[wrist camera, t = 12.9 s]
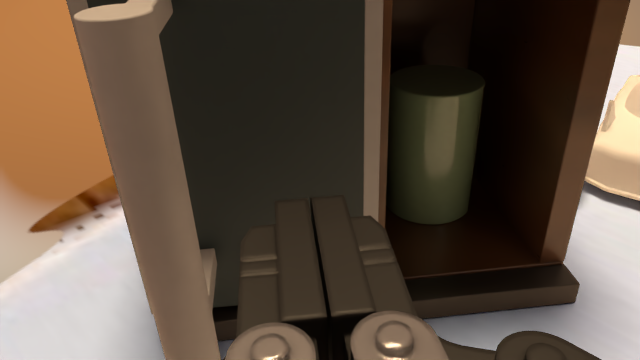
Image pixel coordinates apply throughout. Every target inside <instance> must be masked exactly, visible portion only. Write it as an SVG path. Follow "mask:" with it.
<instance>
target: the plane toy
mask: <svg viewBox="0 0 640 360" xmlns="http://www.w3.org/2000/svg"><path fill="white" fill-rule="evenodd" d="M585 181H586V182H588V183H590V184H592V185H594V186H596V187H598V188H600V189H602V190H604V191H606V192H610V193H614V194H617V195H621V196H624V197H628V198H632V199H635V200H639V201H640V75H634V76H630V77H629V78H628V80H627V81H626V83H625V85H624V86H623V88H622V89H621V90H620V91H619V93H618V94H617V96H616V98H615V100H614V101H613V100H610V101H609V104H608V108H607V111H606V114H605V118H604V120H603V122H602V124H601V125H600V128H599V130H598V132H597V133H596V137H595V141H594V145H593V149H592V153H591V157H590V161H589V165H588V169H587V173H586V176H585Z"/></svg>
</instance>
